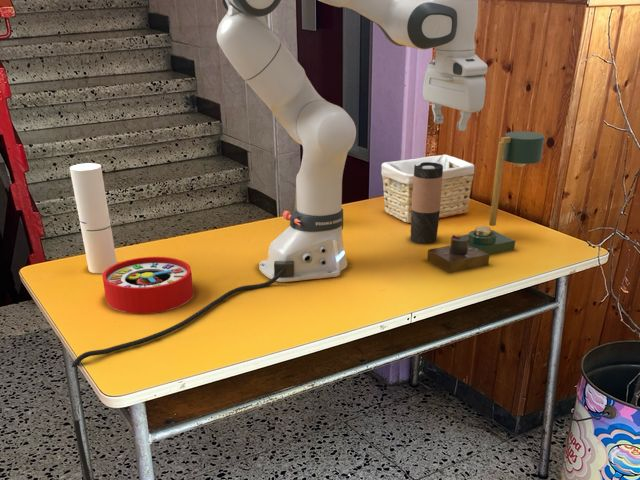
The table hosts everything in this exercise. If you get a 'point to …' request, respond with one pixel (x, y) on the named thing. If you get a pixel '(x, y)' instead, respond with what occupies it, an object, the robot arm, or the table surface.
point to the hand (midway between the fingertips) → (449, 126)
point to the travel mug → (426, 202)
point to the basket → (401, 185)
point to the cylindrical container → (93, 216)
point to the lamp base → (491, 242)
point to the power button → (482, 231)
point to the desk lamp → (515, 159)
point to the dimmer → (457, 259)
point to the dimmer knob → (459, 245)
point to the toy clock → (148, 284)
